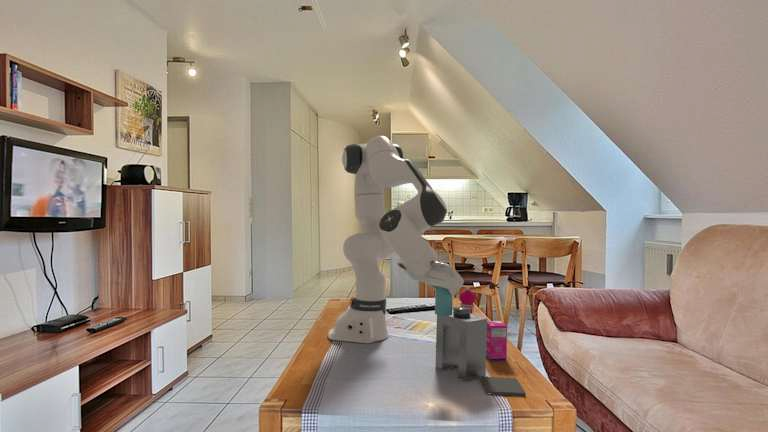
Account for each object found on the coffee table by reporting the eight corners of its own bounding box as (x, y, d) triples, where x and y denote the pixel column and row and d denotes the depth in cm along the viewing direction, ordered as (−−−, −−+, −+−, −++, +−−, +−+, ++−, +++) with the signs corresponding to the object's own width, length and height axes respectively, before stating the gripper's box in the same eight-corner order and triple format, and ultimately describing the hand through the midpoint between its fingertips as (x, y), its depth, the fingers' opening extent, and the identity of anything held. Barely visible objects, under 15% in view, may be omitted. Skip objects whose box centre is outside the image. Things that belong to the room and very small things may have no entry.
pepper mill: (474, 337, 166) (476, 284, 166) (477, 343, 159) (478, 288, 158) (455, 336, 167) (457, 284, 166) (456, 342, 160) (458, 287, 159)
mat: (487, 394, 116) (487, 391, 116) (480, 379, 126) (480, 376, 126) (525, 395, 116) (525, 392, 116) (516, 380, 126) (516, 378, 126)
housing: (465, 381, 124) (467, 315, 123) (435, 367, 135) (437, 305, 134) (485, 376, 129) (487, 311, 128) (454, 362, 139) (456, 302, 139)
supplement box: (483, 354, 147) (484, 320, 147) (500, 354, 148) (501, 320, 148) (489, 360, 142) (490, 325, 141) (507, 360, 142) (508, 325, 142)
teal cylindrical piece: (435, 315, 125) (436, 271, 124) (434, 311, 130) (435, 269, 129) (452, 316, 125) (454, 272, 124) (451, 311, 130) (452, 269, 129)
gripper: (453, 255, 114) (478, 290, 120) (405, 247, 131) (429, 277, 137) (439, 274, 112) (465, 307, 118) (393, 262, 129) (417, 293, 134)
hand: (445, 291), depth 127 cm, fingers closed on teal cylindrical piece, 5 cm apart
